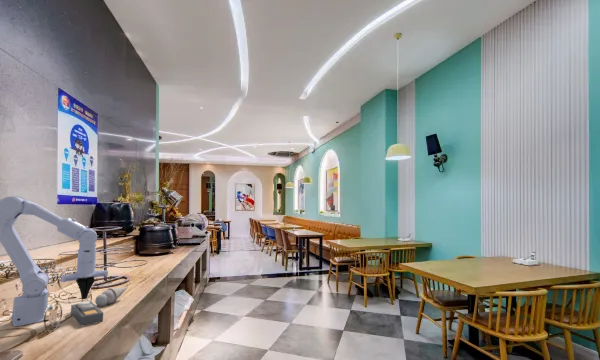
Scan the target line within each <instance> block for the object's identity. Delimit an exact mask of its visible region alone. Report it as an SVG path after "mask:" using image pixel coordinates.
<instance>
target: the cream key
mask: <svg viewBox="0 0 600 360" xmlns="http://www.w3.org/2000/svg"><path fill="white" fill-rule="evenodd" d="M90 302H91V301H89V300H84V301H79V302H78V301H77V302H76V304H77V307H78V308H80V306H83V305H88V304H90Z"/></svg>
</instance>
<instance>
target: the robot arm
mask: <svg viewBox="0 0 600 360" xmlns="http://www.w3.org/2000/svg"><path fill="white" fill-rule="evenodd" d="M21 215H24V216H25V215H26V216H27V215H28V216H29V215H30V216H35V217H37V218H39V219H41V220H43V221H45V222H47V223H50V224H52V225H54V226H56V228H57V229H56V230H57V231H58V232H59V233H61V234H63V235H64V236H67V237H69V238H70V239H73V240H74V241H75V240H77V241H78V243H79V244H78V245H79V246H78V249H77V250H78V251H77V261H76V262H77V264H76V272H75V273H72V274H71V273H70V274H66V275H61V282H62V283H66V282H70V281H75V282H76V284H77V286H78V288H79V291H80V297H81V300H86V299H88V296H89V292H90V290H91V288H92V286H93V285H94V283H95V280H96V278H102V277H109V270H106V269H105V270H96V257H97V256H96V255H97V248H96V247H97V243H96V242H97V241H98V235H97V232H96V231H95V229H93V228H89V226H88V225H83V224H81V223H79V222H78V221H77V219H76V218H74V217H73V218H71V217H65V218H63V217H61V216H59V215H57V214H56V213H54V212H52V211H51V210H49V209H47V208H45V207H44V206H41V205H40V204H38V203H36V202H33V201H31V200H28V199H25V198H24V197H21V196H18V195H17V196H15V195H14V196H5V197H3V198H2V199H1V200H0V243H1V245H2V247H3V248H4V250H5V252H6V253H7V255H8V256H9V259H10V260H11V261H12V264H13V265H14V267H15V268H16V270H17V272H18V274H19V280H20V282H21V283H22V286H21V287H22V294H21V295H19V296H15V297H14V298H13V303H12V304H13V305H12V314H11V322H12V325H13V327H15V328H16V327H20V326H24V325H30V324H34V323H40V322H41V323H42V322H44V321H43V317H44V313H45V310H46V308H47V309H48V305H49V303H48V301H49V290H48V289H47V286H48V285H49V282H50V277H49V275H48V274H47V273H46V272H44V271H42V270H41V269H42V268H40V267H39V265H37V264H36V263H35V261H34V259H33V257H32V255H31V254H30V252H29V250H28V249H27V247H26V245H25V244H24V242H23V241H22V239H21V237H20V235H19V233H18V232H17V230H16V228H15V226H14V224H15V222H17V219H18V218H19V216H21Z"/></svg>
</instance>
